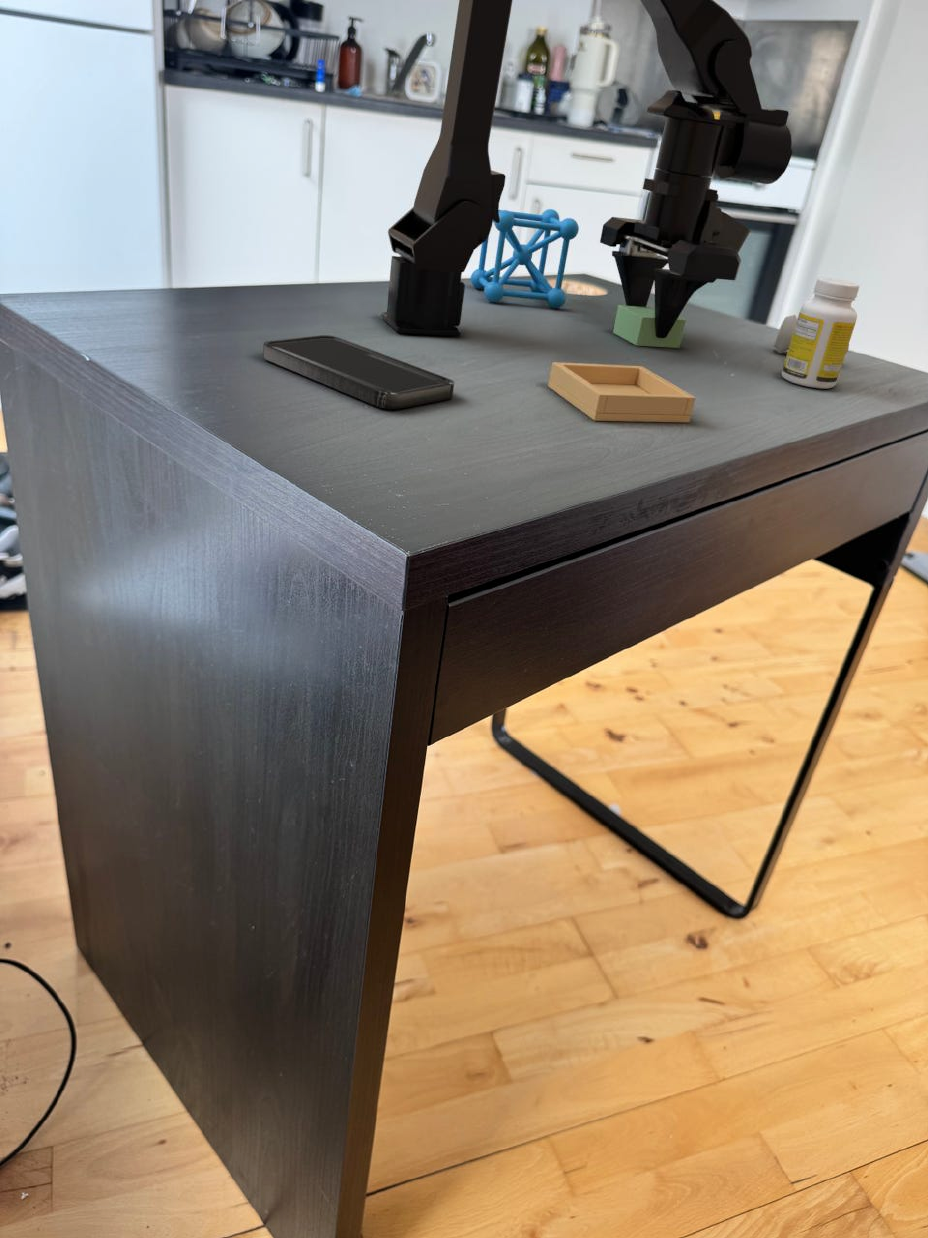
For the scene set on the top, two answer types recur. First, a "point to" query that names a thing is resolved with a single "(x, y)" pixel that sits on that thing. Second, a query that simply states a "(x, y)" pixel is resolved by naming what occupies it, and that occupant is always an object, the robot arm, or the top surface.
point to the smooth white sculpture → (787, 334)
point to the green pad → (645, 327)
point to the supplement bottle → (822, 335)
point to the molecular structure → (526, 257)
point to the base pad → (620, 393)
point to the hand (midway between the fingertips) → (647, 330)
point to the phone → (359, 371)
